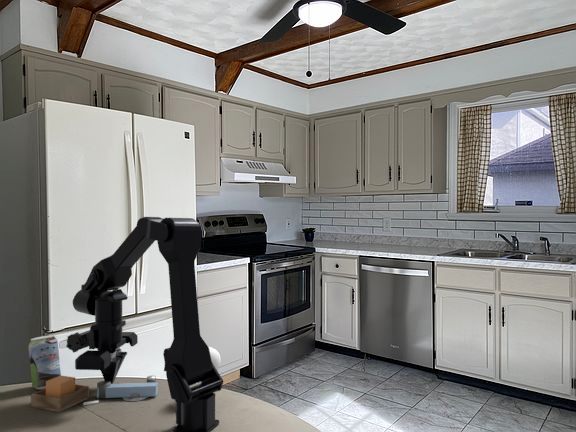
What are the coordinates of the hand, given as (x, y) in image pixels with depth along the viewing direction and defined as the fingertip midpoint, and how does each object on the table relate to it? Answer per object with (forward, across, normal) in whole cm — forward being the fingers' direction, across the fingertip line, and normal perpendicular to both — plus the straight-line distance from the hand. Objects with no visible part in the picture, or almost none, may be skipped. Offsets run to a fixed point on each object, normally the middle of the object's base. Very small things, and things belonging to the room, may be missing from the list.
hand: (109, 386), depth 100 cm
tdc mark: (+1, +6, -1) cm, 6 cm away
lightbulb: (+2, +1, +23) cm, 23 cm away
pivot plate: (+1, +2, +7) cm, 7 cm away
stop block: (+1, +6, -8) cm, 10 cm away
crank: (+1, +2, +5) cm, 5 cm away
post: (+2, -2, +9) cm, 9 cm away
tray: (+1, +6, -8) cm, 10 cm away
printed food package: (+2, -3, -17) cm, 17 cm away
